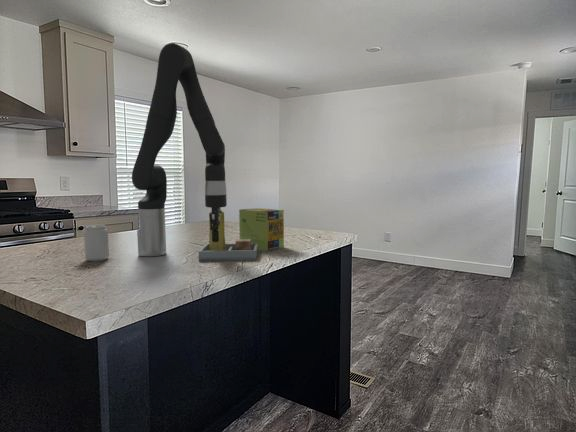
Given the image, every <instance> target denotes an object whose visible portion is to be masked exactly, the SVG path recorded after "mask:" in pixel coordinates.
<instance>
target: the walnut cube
mask: <svg viewBox="0 0 576 432" xmlns="http://www.w3.org/2000/svg"><path fill="white" fill-rule="evenodd" d="M234 244H236V250H251V239H240V238H237V239H236V240H235V243H234Z"/></svg>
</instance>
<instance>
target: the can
mask: <svg viewBox="0 0 576 432" xmlns="http://www.w3.org/2000/svg"><path fill="white" fill-rule="evenodd" d="M83 239H84V241H83V242H84V255H85V257H84V258H85V259H86V260H87V261H88V262H102V261H106V260H107V259H108V258H109V257H110V247H109V231H108V229H107V228H106V225H105V224H103V225H102V224H100V225H99V224H97V225H87V226H85V229H84V230H83Z"/></svg>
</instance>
